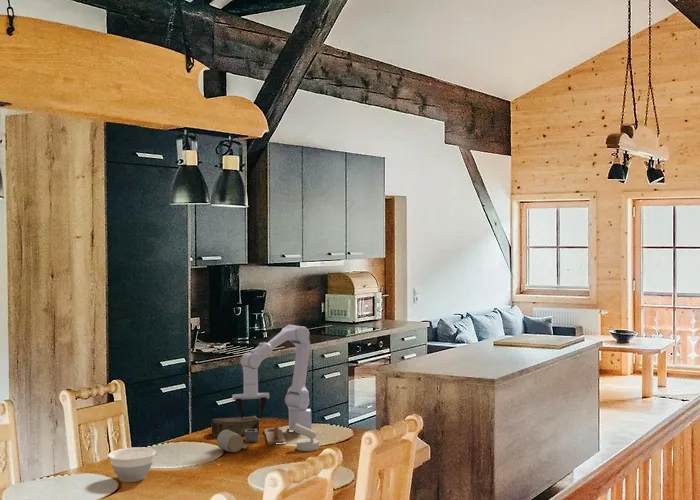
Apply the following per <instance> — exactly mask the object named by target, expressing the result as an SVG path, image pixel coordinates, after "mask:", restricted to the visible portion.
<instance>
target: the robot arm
mask: <svg viewBox="0 0 700 500" xmlns="http://www.w3.org/2000/svg"><path fill="white" fill-rule="evenodd" d="M310 333H311V332H310V331H309V329H308V328H307V327H306V326H303V325H302V326H301V325H294V324H287V325H286V326H285V327H283V328H281V331H280V332H278V333H277V334H276V335H275V336H274V337H272V338H271V339H270V340H269V341H268V342H266V341H263V342H259V343H258V345H257V346H256V347H255V348H254V349H251V350H250V351H249V352H245V353H244V354H242V356H241V358H240V360H239V363H240V365H241V366H242V372H243V373H242V374H243V393H238V394H237V393H236V394H232V396H231V397H232V401H235V403H236V405H237V408H238V411H239V417H241V418H243V417H244V415H243V400H255V399H257V400H259V412H258V414H259V417H260V418H262V417H263V412H264V409H265V406H266V404H267V402H268V399H270V393H269V392H259V373H258V372H259V370H258V369H259V368H260V366H261V363H262V361H264V360H265V359H266V358H268V357H269V356H271V354H272V353H273V350H274V349H276V348H277V347H278V346H281V344H283V343H285V342H287V341H289V342H291V343H292V344H293V345H294V346H295V347H296V350H295V351H296V352H295V357H294V358H295V359H294V367H293V374H292V383H291V385H290V387H289V388H287V393H286V394H285V398H284V403H285V405H286V406H287V409H288V426H287V427H286V428H289V430H293V429H294V427H295V424H296V423H297V424H299V425H301V426H304V427H306V428H308V429H310V430H312V410H311V408H308V407H309V405H310V401H311V400H310V395H309V394H310V392H309V390H308V389H307V387H306V382H307V381H306V380H307V376H308V374H307V373H308V367H309V365H308V364H309V359H310V350H311V341H310Z"/></svg>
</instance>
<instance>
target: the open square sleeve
mask: <svg viewBox="0 0 700 500" xmlns="http://www.w3.org/2000/svg"><path fill="white" fill-rule="evenodd" d="M244 441H245V443H257V442H259V434H258V430H257V429H245V435H244Z"/></svg>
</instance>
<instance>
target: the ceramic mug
mask: <svg viewBox="0 0 700 500" xmlns="http://www.w3.org/2000/svg"><path fill="white" fill-rule="evenodd" d="M216 445H217V447H218V448H219V449H221V450H223V451H226V452H228V453H232V454H235V453H238V452H240V451H241V449H244V450H246V449H247V447H248V445H247V444H245V443H244V439H243V437H242V435H239V434H237V433H234V432H232V431H230V430H223V431H221V432H220V434H219V435H218V437H216Z"/></svg>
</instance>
